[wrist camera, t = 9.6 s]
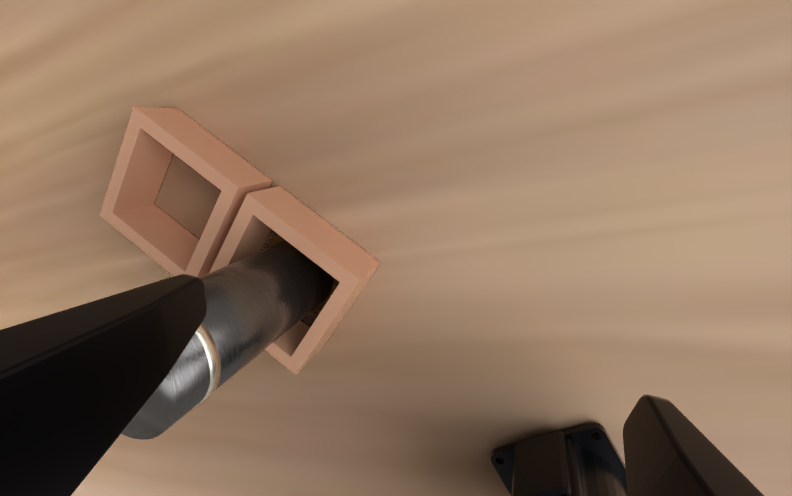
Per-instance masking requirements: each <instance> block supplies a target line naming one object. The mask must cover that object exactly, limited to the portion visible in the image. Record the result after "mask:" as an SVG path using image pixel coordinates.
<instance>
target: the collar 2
mask: <svg viewBox="0 0 792 496" xmlns="http://www.w3.org/2000/svg"><path fill="white" fill-rule="evenodd" d="M271 230H273V231H275V232H276V233H277V234H279V235H280V236H281V237H282V238H284V239H285V240H286V241H288V242H289V243H290V244H291V245H293V246H294V247H295V248H296V249H298V250H299V251H300V252H302V253H303V254H304V255H305V256H307V257H308V258H309V259H311V260H312V261H313V262H314V263H316V264H317V265H318V266H320V267H321V268H322V269H323V270H325V271H326V272H327V273H329V274H330V275H331V276H332V277H334V278H335V279H336V280H338V281H339V282H340V283H339V285H338V286H337V288H336V289H335V291H334V292H333V294H332V295H331V297H330V298H329V300H328V301H327V303H326V304H325V306H324V308H323V309H322V311H321V312H320V314H319V315H318V317H317V318H316V320H315V321H314V323H313V324H312V326H311V327H310V328H309V327H308V326H307V325H306V324H304V323H303V322H302V321H301V320H300V321H299V322H298V323H296V324H295V325H294V326H293V327H292V328H290V329H289V330H288V331H287V332H285V333H284V334H283V335H282V336H280V337H279V338H278V339H277V340H276V341H274V342H273V343H272V344H271V345H269V346H268V347H267V348H266V349H265V350H266V351H267V352H268V353H270V354H271V355H272V356H273V357H274V358H276V359H277V360H278V361H279V362H281V363H282V364H283V365H284V366H285V367H287V368H288V369H289V370H290V371H292V372H293V373H294V374H295V375H297V374H298V373H299V372H300V370H301V369H302V368H303V367H304V366H305V365H306V364H307V363H308V362H309V361H310V360H311V359H312V358H313V357H314V356H315V355H316V354H317V353H318V352H319V351H320V350H321V349H322V347H323V346H324V344H325V343H326V341H327V340H328V339H329V337H330V336H331V334H332V333H333V331H334V330H335V328H336V327H337V325H338V324H339V323H340V321H341V320H342V318H343V317H344V315H345V314H346V312H347V311H348V309H349V308H350V307H351V305H352V304H353V302H354V301H355V299H356V298H357V296H358V295H359V293H360V292H361V291H362V289H363V288H364V286H365V285H366V283H367V282H368V280H369V279H370V277H371V276H372V275H373V273H374V272H375V270H376V269H377V267H378V266H379V264H380V262H379V261H377V260H376V259H375V258H374V257H372V256H371V255H370V254H368V253H367V252H366V251H364V250H363V249H362V248H360V247H359V246H358V245H356V244H355V243H354V242H353V241H351V240H350V239H349V238H347V237H346V236H345V235H343V234H342V233H341V232H339V231H338V230H337V229H336V228H334V227H333V226H332V225H330V224H329V223H328V222H326V221H325V220H324V219H322V218H321V217H320V216H319V215H317V214H316V213H315V212H313V211H312V210H311V209H309V208H308V207H307V206H305V205H304V204H303V203H302V202H300V201H299V200H298V199H296V198H295V197H294V196H292V195H291V194H290V193H288V192H287V191H286V190H285V189H283V188H282V187H281V186H277V187H273V188H268V189H264V190H260V191H255V192H251V193H247V195H246V197H245V199H244V201H243V203H242V205H241V207H240V210H239V212H238V214H237V216H236V218H235V220H234V222H233V224H232V226H231V228H230V230H229V232H228V235H227V237H226V239H225V241H224V243H223V245H222V247H221V249H220V251H219V253H218V255H217V257H216V260H215V262H214V264H213V266H212V268H211V270H210V272H209V273H212V272H214V271H216V270H218V269H220V268H223V267H225V266H227V265H229V264H232V263H234V262H236V261H238V260H241V259H243V258H245V257H247V256H249V255H252V254H254V253H256V252H258V251H260V250H261V249H262V247H263V245H264V243H265V241H266V239H267V237H268V235H269V233H270V232H271Z"/></svg>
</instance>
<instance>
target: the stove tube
mask: <svg viewBox="0 0 792 496" xmlns="http://www.w3.org/2000/svg"><path fill="white" fill-rule="evenodd" d="M200 278H201V279H202V280H203V282H204V285H205V294H206V303H207V313H206V316H205V318H204V320H203V322H202V323H201V325H200V326H199V328H198V329H197V331H196V333H195V334H194V336H193V337H192V339H191V340H190V342H189V343H188V345H187V346H186V348H185V349H184V351H183V352H182V354H181V355H180V357H179V359H178V360H177V362H176V363H175V365H174V366H173V368H172V369H171V371H170V372H169V373H168V375H167V376H166V378H165V379H164V380H163V382H162V383H161V384H160V386H159V387H158V388H157V389H156V391H155V392H154V393H153V394H152V396H151V397H150V398H149V399H148V401H147V402H146V403H145V404H144V406H143V407H142V408H141V409H140V410H139V412H138V413H137V414H136V415H135V417H134V418H133V419H132V420H131V422H130V423H129V424H128V425H127V427H126V428H125V429H124V430H123V432H122V433H121V434H123V435H126V436H128V437H132V438H135V439H151V438H154V437H157V436H159V435H160V434H162V433H163V432H164V431H165V430H167V429H168V428H169V427H170V426H172V425H173V424H174V423H175V422H176V421H178V420H179V419H180V418H181V417H183V416H184V415H185V414H186V413H187V412H189V411H190V410H191V409H192V408H194V407H196V406H198V405H199V404H201V403H202V402H203V401H204V400H205V399H207V398H208V397H209V396H210V395H211V394H212V393H213V392H214V391H215V390H216V389H217V388H218V387H219V386H221V385H222V384H223V383H224V382H225V381H227V380H228V379H229V378H230V377H232V376H233V375H234V374H235V373H236V372H238V371H239V370H240V369H241V368H243V367H244V366H245V365H246V364H247V363H249V362H250V361H251V360H252V359H254V358H255V357H256V356H257V355H258V354H260V353H261V352H262V351H263V350H265V349H266V348H267V347H268V346H269V345H271V344H272V343H273V342H274V341H276V340H277V339H278V338H279V337H280V336H282V335H283V334H284V333H285V332H287V331H288V330H289V329H290V328H292V327H293V326H294V325H295V324H296V323H298V322H299V321H300V320H301V319H303V318H304V317H305V316H306V315H307V314H309V313H310V312H311V311H312V310H314V309H315V308H316V307H317V306H318V305H320V304H321V303H322V302H323V301H324V300H325V299H326V298H327V297H328V296H329V294H330V292H331V290H332V287H333V281H334V277H332V276H331V275H330V274H329V273H327V272H326V271H325V270H323V269H322V268H321V267H320V266H318V265H317V264H316V263H314V262H313V261H312V260H311V259H309V258H308V257H307V256H305V255H304V254H303V253H302V252H300V251H299V250H298V249H296V248H295V247H294V246H293V245H291V244H290V243H289V242H288V241H286V240H283V241H281V242H278V243H276V244H274V245H272V246H270V247H267V248H265V249H263V250H261V251H258V252H256V253H254V254H252V255H249V256H247V257H245V258H243V259H241V260H238V261H236V262H234V263H232V264H229V265H227V266H225V267H223V268H220V269H218V270H216V271H214V272H212V273H209V274H207V275H205V276H203V277H200Z"/></svg>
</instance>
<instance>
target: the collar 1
mask: <svg viewBox="0 0 792 496" xmlns="http://www.w3.org/2000/svg"><path fill="white" fill-rule="evenodd" d="M173 154H175V155H176V156H177V157H179V158H180V159H181V160H182V161H184V162H185V163H186V164H188V165H189V166H190V167H191V168H193V169H194V170H195V171H197V172H198V173H199V174H200V175H202V176H203V177H204V178H206V179H207V180H208V181H209V182H211V183H212V184H213V185H215V186H216V187H217V188H218V189H220V190H221V193H220V195H219V198H218V200H217V202H216V204H215V206H214V209H213V211H212V213H211V215H210V218H209V220H208V222H207V224H206V227H205V229H204V231H203V233H202V235H201V238H200V240H199V239H197V238H196V237H195V236H194V235H192V234H191V233H190V232H188V231H187V230H186V229H185V228H183V227H182V226H181V225H180V224H178V223H177V222H176V221H175V220H173V219H172V218H171V217H170V216H168V215H167V214H166V213H165V212H163V211H162V210H161V209H160V208H158V207H157V206H156V205H155V204H154V203H155V201H156V198H157V195H158V193H159V190H160V187H161V185H162V182H163V180H164V177H165V174H166V172H167V169H168V166H169V164H170V161H171V158H172V156H173ZM271 182H272V180H270V179H269V178H268V177H267V176H265V175H264V174H263V173H261V172H260V171H259V170H257V169H256V168H255V167H253V166H252V165H251V164H250V163H248V162H247V161H246V160H244V159H243V158H242V157H240V156H239V155H238V154H236V153H235V152H234V151H233V150H231V149H230V148H229V147H227V146H226V145H225V144H223V143H222V142H221V141H219V140H218V139H217V138H215V137H214V136H213V135H212V134H210V133H209V132H208V131H206V130H205V129H204V128H202V127H201V126H200V125H198V124H197V123H196V122H195V121H193V120H192V119H191V118H189V117H188V116H187V115H185V114H184V113H183V112H181V111H180V110H179V109H178V108H159V107H140V106H134V107H133V110H132V113H131V116H130V119H129V123H128V126H127V129H126V132H125V135H124V138H123V141H122V145H121V148H120V151H119V154H118V157H117V160H116V163H115V167H114V170H113V173H112V176H111V179H110V182H109V185H108V189H107V192H106V195H105V198H104V201H103V204H102V207H101V211H100V214H99V215H100V216H101V217H102V218H103V219H104V220H106V221H107V222H108V223H109V224H111V225H112V226H113V227H114V228H115V229H117V230H118V231H119V232H120V233H122V234H123V235H124V236H125V237H127V238H128V239H129V240H130V241H131V242H133V243H134V244H135V245H136V246H138V247H139V248H140V249H141V250H142V251H144V252H145V253H146V254H147V255H149V256H150V257H151V258H152V259H153V260H155V261H156V262H157V263H158V264H160V265H161V266H162V267H163V268H165V269H166V270H167V271H168V272H169V273H171V274H172V275H173V276H177V275H180V274H188V275H192V276H196V277H199V278H200V277H203V276H205V275H207V274H209V272H210V270H211V268H212V266H213V264H214V262H215V260H216V257H217V255H218V253H219V251H220V249H221V247H222V245H223V243H224V241H225V239H226V237H227V235H228V232H229V230H230V228H231V226H232V224H233V222H234V220H235V218H236V216H237V214H238V212H239V210H240V207H241V205H242V203H243V201H244V199H245V197H246V195H247V193H251V192H255V191H260V190H264V189H268V188H269V186H270V184H271Z"/></svg>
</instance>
